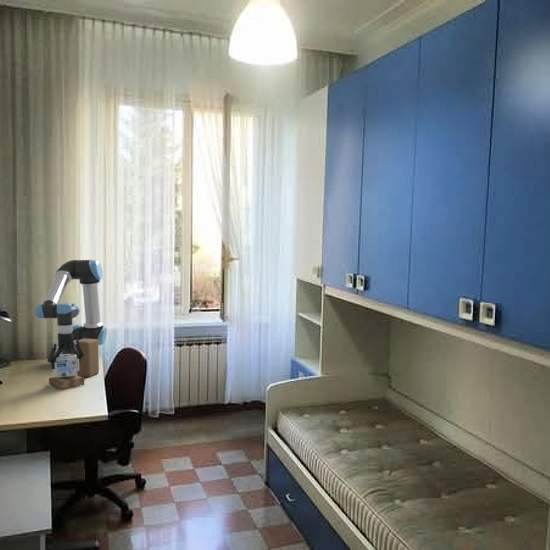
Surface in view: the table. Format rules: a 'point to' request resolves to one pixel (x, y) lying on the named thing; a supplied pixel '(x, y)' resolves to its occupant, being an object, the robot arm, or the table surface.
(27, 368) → the table surface
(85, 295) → the robot arm
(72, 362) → the light bulb box
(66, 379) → the brown open tray
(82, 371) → the wooden block
